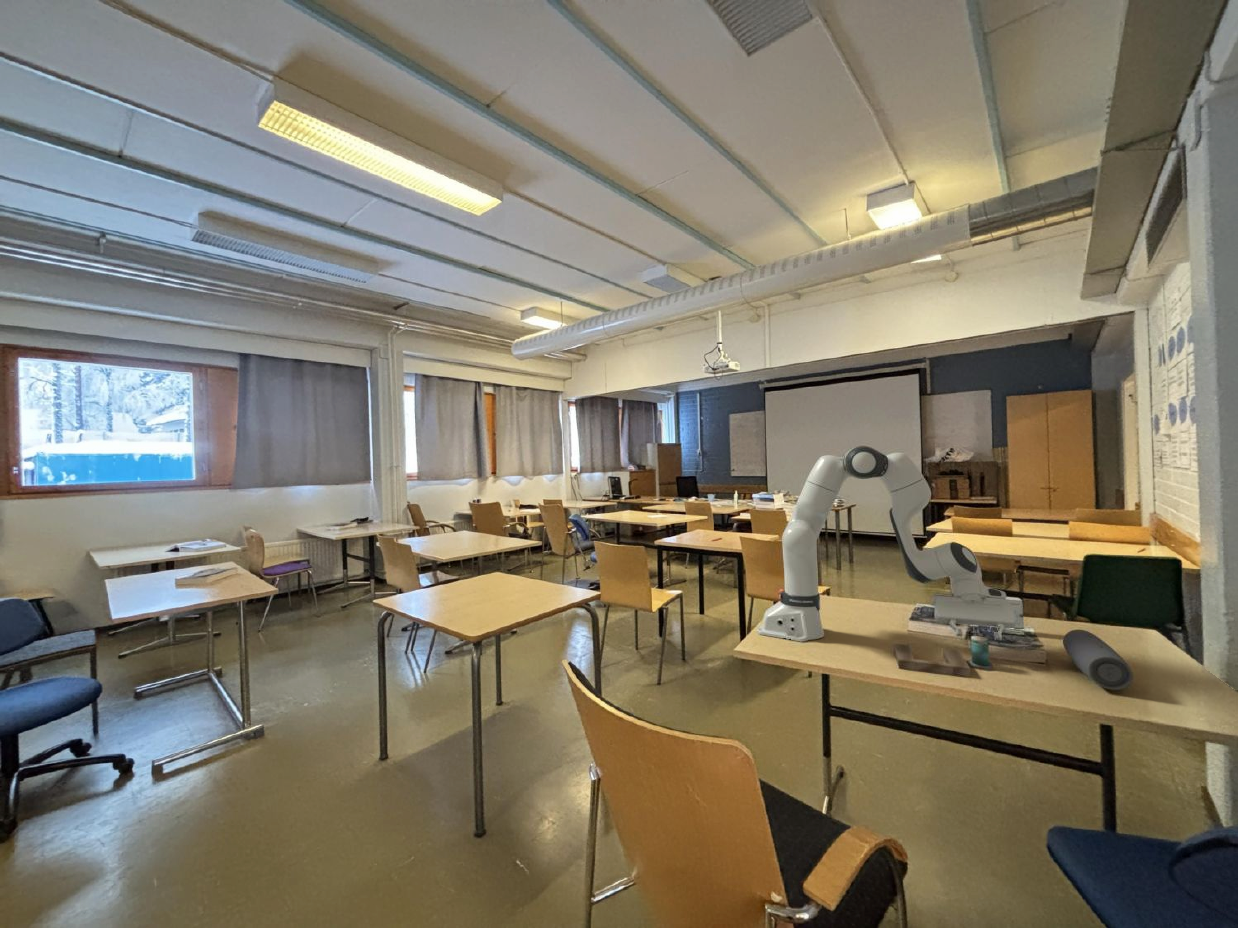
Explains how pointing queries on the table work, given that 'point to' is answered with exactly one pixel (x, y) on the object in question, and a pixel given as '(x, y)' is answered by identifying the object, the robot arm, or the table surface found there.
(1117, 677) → the bluetooth speaker
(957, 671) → the notched board
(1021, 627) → the ink box
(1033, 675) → the table surface
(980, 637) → the bobbin
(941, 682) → the table surface
